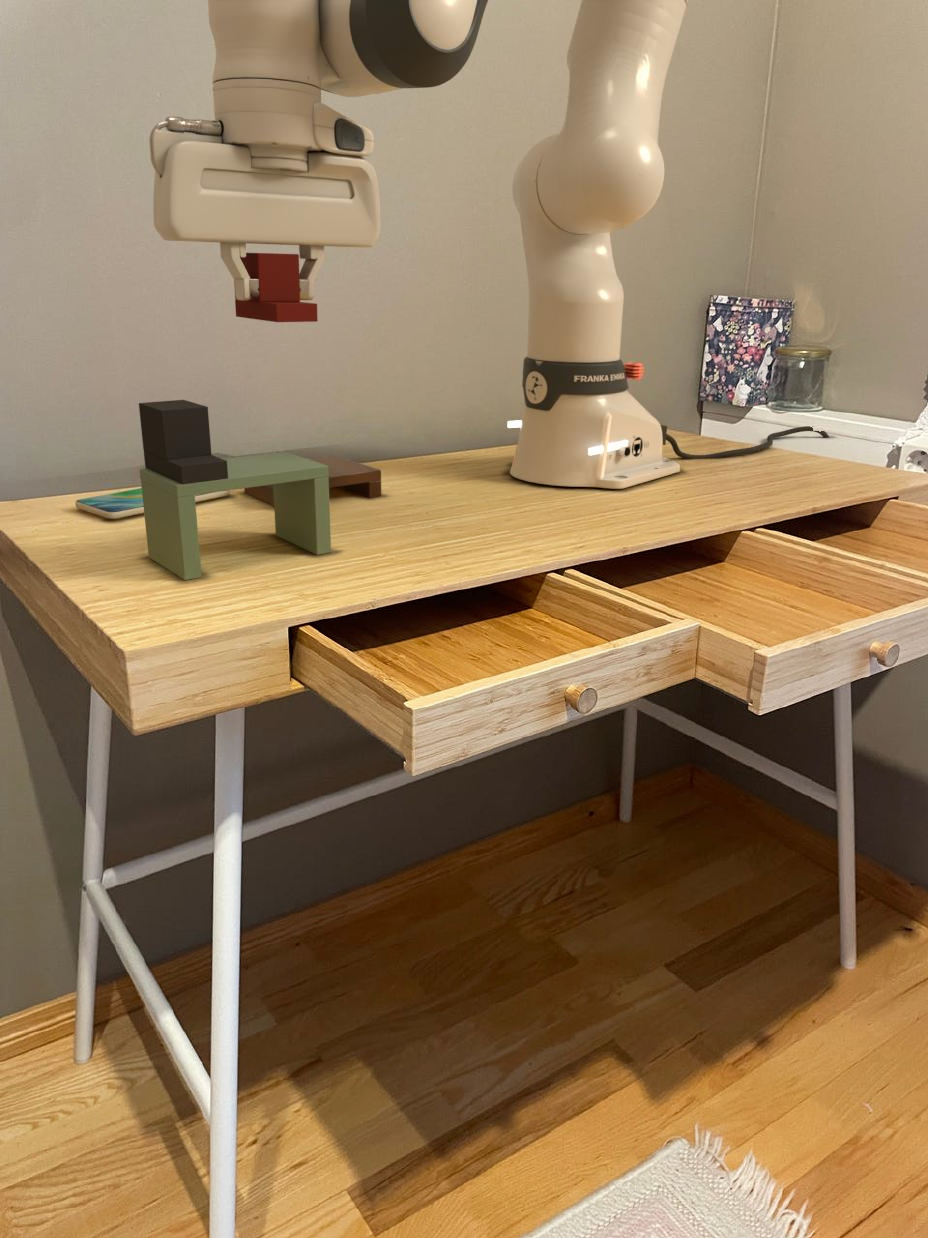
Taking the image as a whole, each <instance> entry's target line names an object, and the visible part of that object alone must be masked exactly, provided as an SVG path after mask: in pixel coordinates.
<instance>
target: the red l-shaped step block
mask: <svg viewBox="0 0 928 1238" xmlns="http://www.w3.org/2000/svg"><path fill="white" fill-rule="evenodd" d="M240 259H241V261H242V263H243V265H244V267H245V269H246V271H247V273H248V275H249V276H250V279H259V288H258V291H259V299H258V300H237V298H236V295H235V294H234V299H235V300H234V302H235V303H234V304H235V305H234V307H235V317H236V318H244V319H250V320H258V321H265V322H273V323H307V322H308V323H313V322H314V323H316V322H318V321H319V320H318V303H315V302H306V301H305V302H304V301H301V300H300V278H299V274H300V254H299V253H270V252H246V257H240ZM233 281H234V282H233V283H234V284H233V285H234V287H235V278H233Z"/></svg>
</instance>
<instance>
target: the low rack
mask: <svg viewBox="0 0 928 1238" xmlns="http://www.w3.org/2000/svg"><path fill="white" fill-rule="evenodd" d="M308 459H309V460H312V461H315V462H318V463H321V464H324V465H327V466H328V473H329V476H328V478H329V489H331V488H337V487H338V488H340V489H344V490H347V491H350V492H352V493H355V494H358V495H361V496H364V497H366V498H369V499H371V498H377V497H382V470H381V469H379V468H376V467H373V466H369V465H367V464H363V463H360V462H357V461H353V460H350V459H346V458H344V457H342V456H341V457H340V456H338V455H329V456H328V455H327V456H321V457H320V456H319V457H312V458H308ZM243 491H244V494H246V495H248V496H251V497H253V498H255V499H258V500H261V501H263V502H265V503H267V504H270V505H272V506H274V494H273V484H272V485H264V486H257V487H250V488H243Z"/></svg>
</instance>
